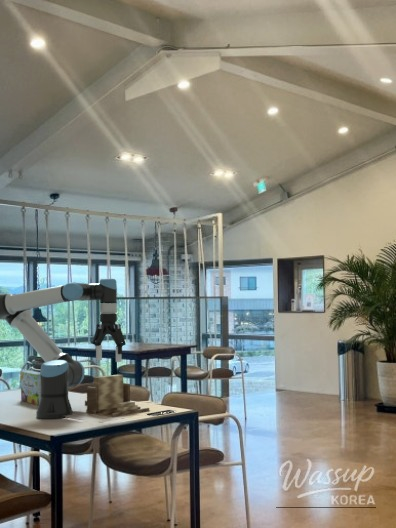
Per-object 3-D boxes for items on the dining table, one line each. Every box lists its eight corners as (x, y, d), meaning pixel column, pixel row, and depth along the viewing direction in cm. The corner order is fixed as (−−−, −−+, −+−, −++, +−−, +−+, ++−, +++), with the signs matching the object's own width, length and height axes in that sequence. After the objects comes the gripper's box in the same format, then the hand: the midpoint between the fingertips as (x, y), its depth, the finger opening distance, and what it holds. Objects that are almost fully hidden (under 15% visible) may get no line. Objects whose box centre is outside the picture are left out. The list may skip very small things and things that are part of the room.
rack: (111, 419, 271) (111, 390, 272) (83, 415, 284) (83, 387, 285) (151, 412, 287) (150, 385, 288) (122, 408, 300) (122, 382, 301)
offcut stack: (122, 414, 277) (122, 404, 277) (115, 413, 280) (115, 403, 280) (138, 412, 284) (138, 401, 284) (131, 411, 287) (131, 400, 287)
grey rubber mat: (153, 416, 279) (153, 415, 279) (136, 413, 287) (136, 412, 287) (176, 411, 289) (176, 410, 289) (159, 409, 297) (159, 408, 297)
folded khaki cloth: (98, 412, 284) (98, 377, 285) (94, 411, 286) (93, 377, 287) (123, 408, 294) (123, 375, 295) (118, 408, 296) (118, 374, 297)
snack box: (19, 400, 333) (20, 370, 334) (30, 399, 337) (30, 370, 338) (36, 405, 316) (36, 373, 317) (47, 404, 320) (47, 373, 321)
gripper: (133, 312, 288) (133, 361, 286) (97, 313, 304) (97, 359, 303) (120, 313, 282) (120, 362, 281) (84, 313, 299) (84, 360, 297)
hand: (108, 361), depth 292 cm, fingers open, 13 cm apart
